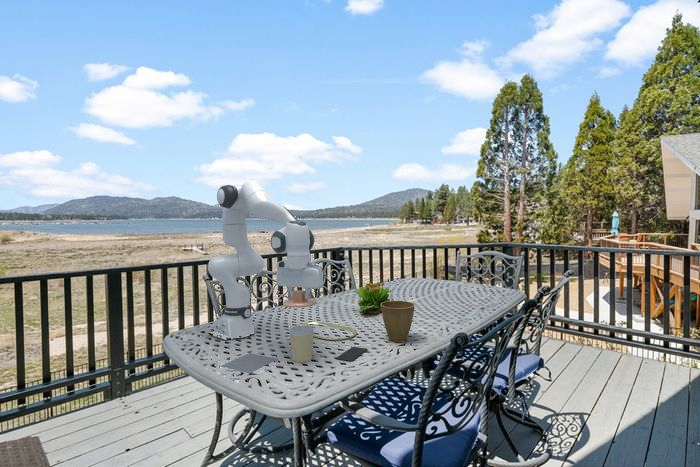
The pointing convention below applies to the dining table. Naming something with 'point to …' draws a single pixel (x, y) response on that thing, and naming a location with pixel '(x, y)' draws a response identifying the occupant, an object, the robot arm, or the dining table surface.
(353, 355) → the phone
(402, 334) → the plant pot
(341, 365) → the dining table surface
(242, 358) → the mat
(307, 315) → the dining table surface
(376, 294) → the potted flower
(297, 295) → the lid
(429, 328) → the dining table surface
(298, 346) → the coffee cup
